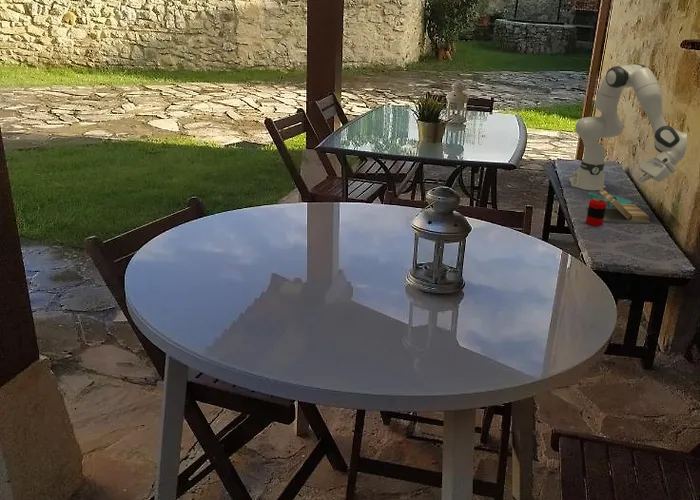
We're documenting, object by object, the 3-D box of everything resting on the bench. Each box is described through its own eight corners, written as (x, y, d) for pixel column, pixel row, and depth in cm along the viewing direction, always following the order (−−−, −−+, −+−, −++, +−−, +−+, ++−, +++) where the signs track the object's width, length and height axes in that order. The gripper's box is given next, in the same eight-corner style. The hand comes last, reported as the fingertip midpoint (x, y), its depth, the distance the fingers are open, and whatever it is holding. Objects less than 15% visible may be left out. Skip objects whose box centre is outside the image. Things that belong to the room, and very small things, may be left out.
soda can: (591, 226, 316) (596, 202, 311) (582, 221, 322) (586, 197, 318) (605, 226, 318) (610, 201, 313) (596, 220, 324) (600, 196, 320)
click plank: (598, 191, 336) (602, 188, 335) (614, 207, 339) (618, 204, 339) (611, 203, 319) (615, 199, 319) (628, 219, 323) (632, 216, 322)
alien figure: (592, 207, 344) (633, 211, 340) (592, 203, 343) (634, 207, 340) (587, 196, 362) (626, 200, 359) (588, 192, 361) (627, 196, 358)
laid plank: (617, 208, 339) (618, 203, 339) (633, 209, 340) (634, 204, 339) (631, 220, 323) (632, 215, 322) (648, 221, 323) (649, 216, 322)
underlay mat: (586, 208, 341) (586, 206, 340) (633, 210, 341) (633, 208, 341) (599, 222, 322) (600, 220, 322) (649, 223, 322) (650, 222, 322)
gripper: (651, 152, 331) (628, 170, 334) (670, 162, 312) (645, 182, 315) (658, 161, 332) (635, 180, 336) (677, 171, 313) (652, 191, 317)
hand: (640, 181), depth 325 cm, fingers closed
